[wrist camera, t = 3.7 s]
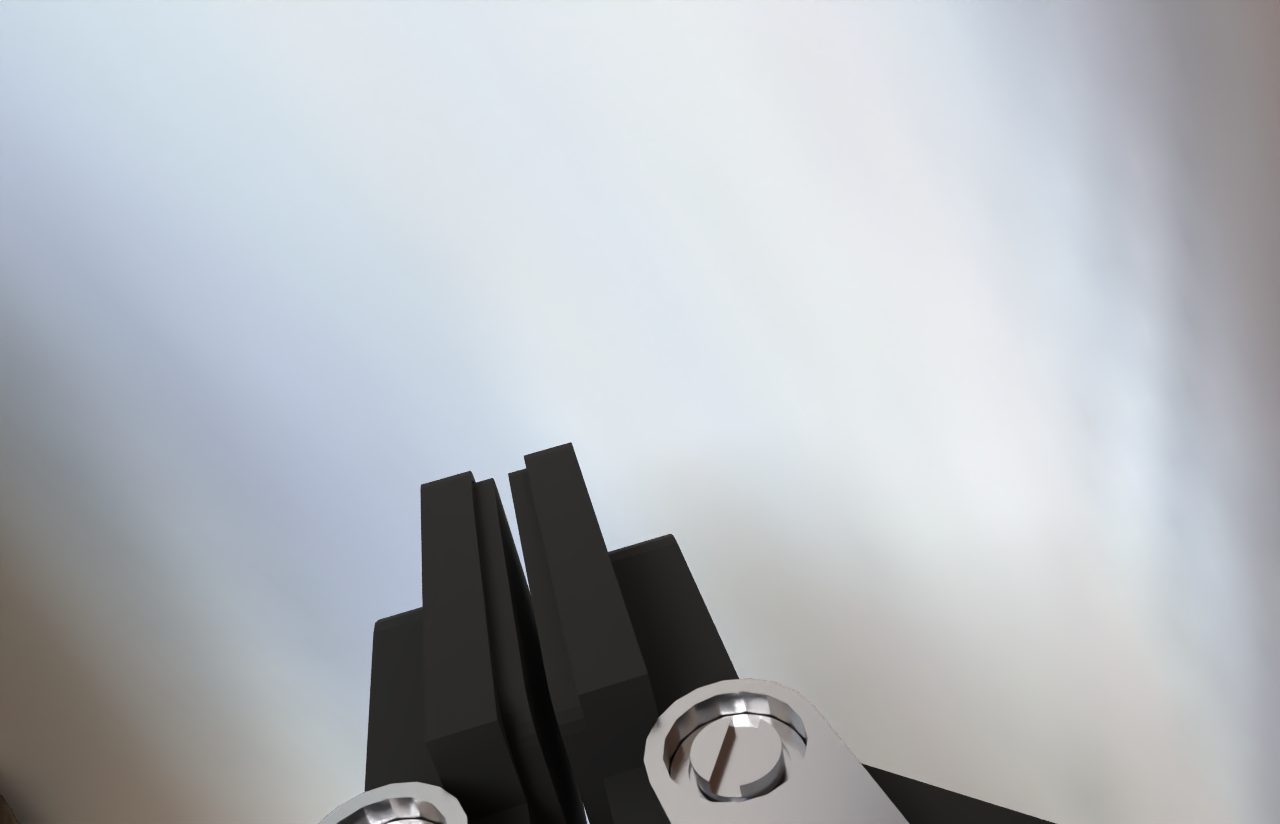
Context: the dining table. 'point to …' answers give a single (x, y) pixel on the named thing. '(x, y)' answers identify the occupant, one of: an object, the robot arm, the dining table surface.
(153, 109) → the dining table surface
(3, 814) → the bread
